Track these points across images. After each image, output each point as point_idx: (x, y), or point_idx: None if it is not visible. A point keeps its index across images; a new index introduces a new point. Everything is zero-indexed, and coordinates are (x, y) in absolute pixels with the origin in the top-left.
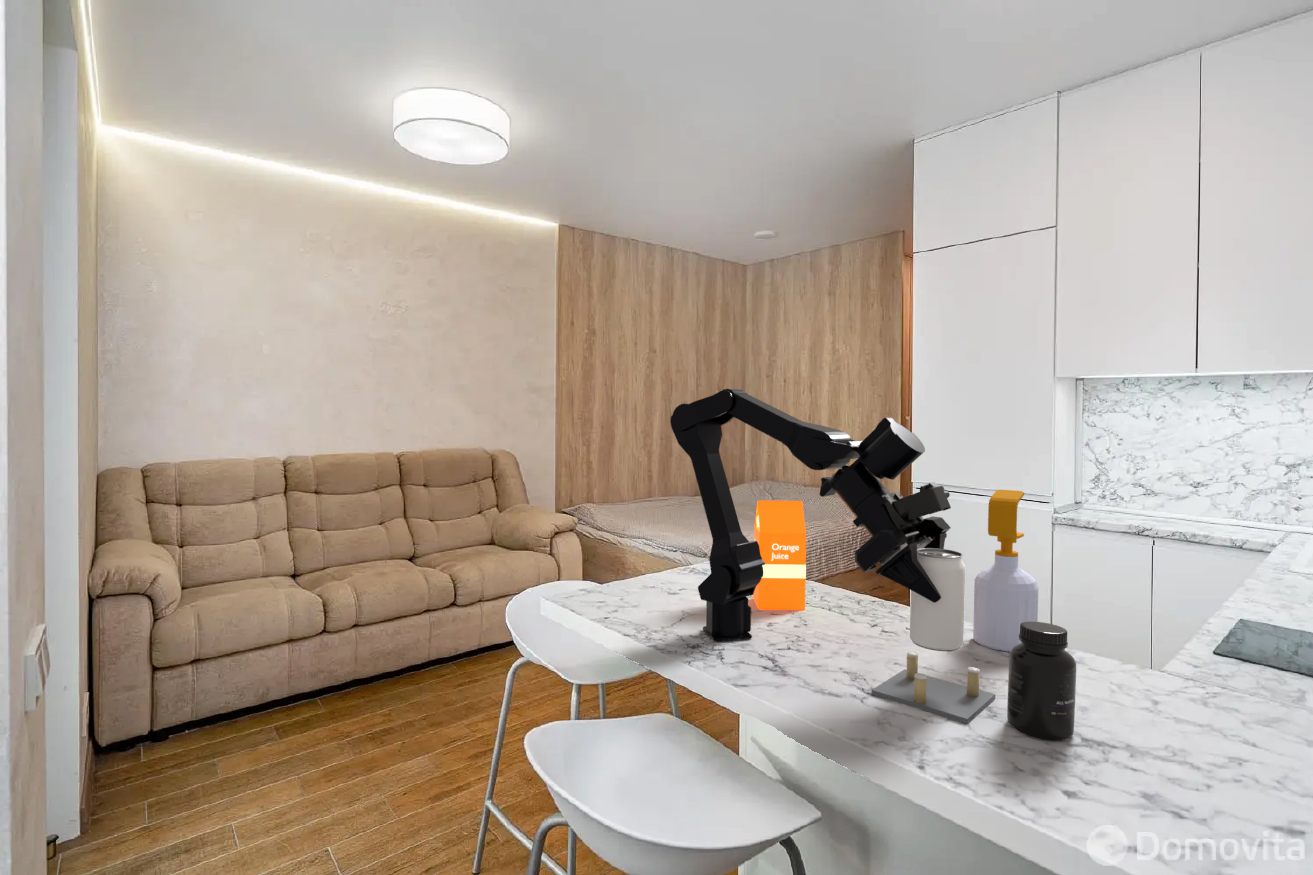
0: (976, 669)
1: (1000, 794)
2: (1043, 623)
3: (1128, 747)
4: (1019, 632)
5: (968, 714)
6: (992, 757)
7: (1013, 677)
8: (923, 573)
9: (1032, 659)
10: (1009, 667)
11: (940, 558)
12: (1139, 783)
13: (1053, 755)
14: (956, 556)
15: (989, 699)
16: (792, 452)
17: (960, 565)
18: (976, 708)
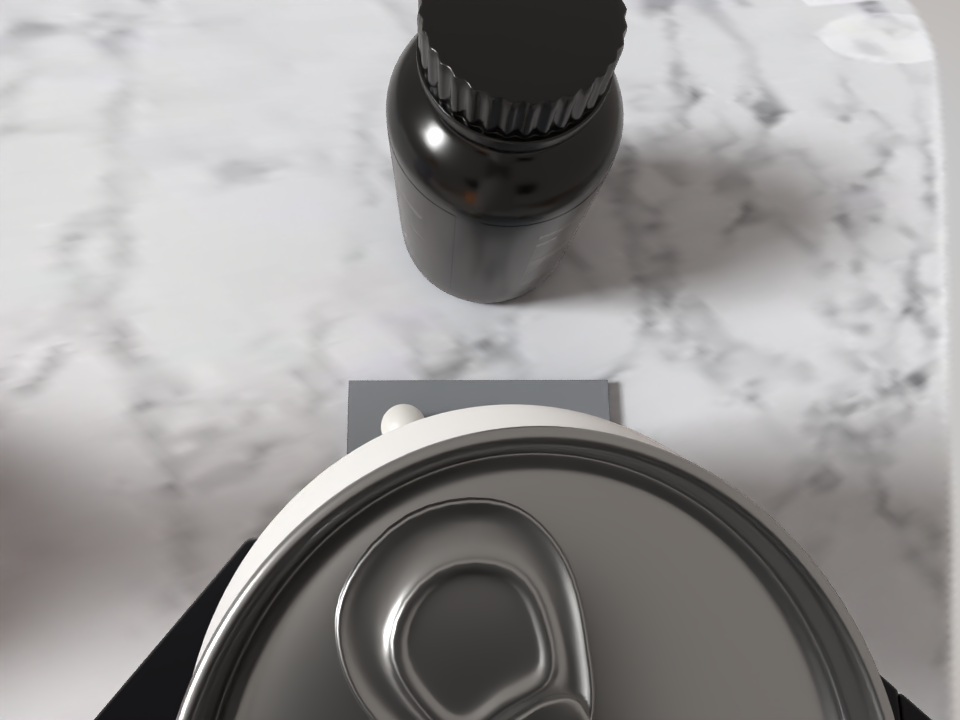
0: (397, 416)
1: (883, 212)
2: (447, 22)
3: None
4: None
5: (575, 388)
6: (739, 272)
7: (579, 219)
8: (894, 708)
9: (619, 107)
10: (553, 231)
11: (832, 621)
12: None
13: (616, 170)
14: (429, 536)
15: (407, 381)
16: None
17: (570, 420)
18: (513, 385)
